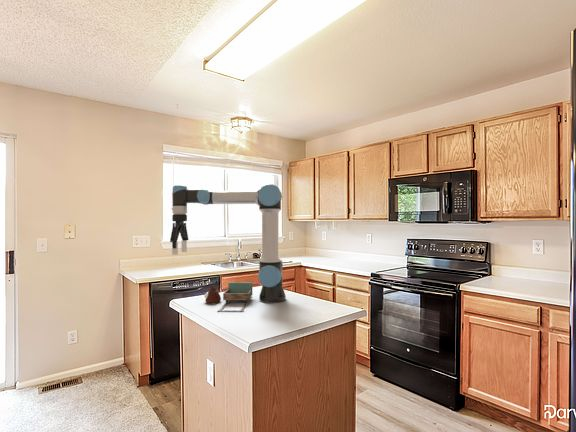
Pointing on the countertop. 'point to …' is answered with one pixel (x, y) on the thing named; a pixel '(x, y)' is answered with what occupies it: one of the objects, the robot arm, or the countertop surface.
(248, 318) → the countertop surface
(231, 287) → the shallow wooden tray
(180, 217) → the robot arm
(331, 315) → the countertop surface
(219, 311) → the track
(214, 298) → the poop emoji
